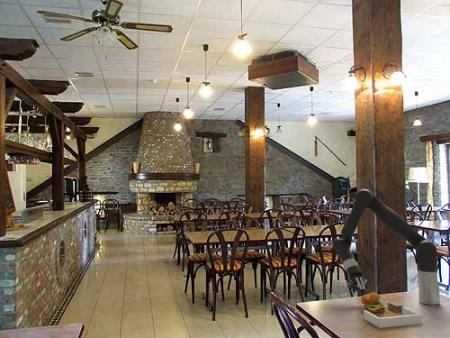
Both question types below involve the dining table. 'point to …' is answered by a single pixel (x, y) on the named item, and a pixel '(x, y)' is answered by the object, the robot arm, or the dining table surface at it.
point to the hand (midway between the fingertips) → (365, 296)
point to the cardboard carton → (395, 306)
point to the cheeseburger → (373, 302)
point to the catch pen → (395, 319)
